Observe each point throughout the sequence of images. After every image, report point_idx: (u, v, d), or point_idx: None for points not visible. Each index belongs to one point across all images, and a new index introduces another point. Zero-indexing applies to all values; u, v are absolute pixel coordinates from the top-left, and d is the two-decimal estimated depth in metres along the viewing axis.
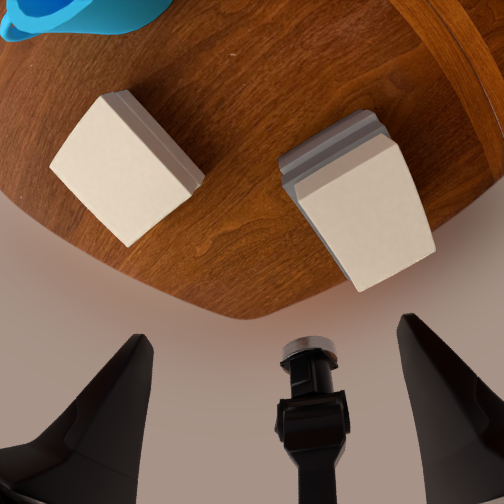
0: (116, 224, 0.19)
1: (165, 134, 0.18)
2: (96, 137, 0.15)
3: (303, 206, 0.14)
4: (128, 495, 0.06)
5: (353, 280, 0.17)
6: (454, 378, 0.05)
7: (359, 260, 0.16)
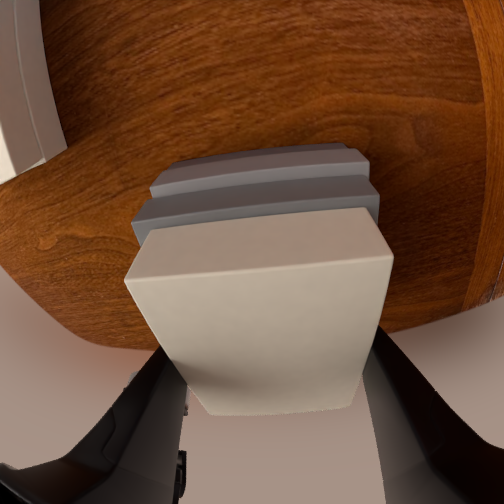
0: None
1: (41, 68, 0.08)
2: None
3: (132, 292, 0.06)
4: None
5: (203, 404, 0.10)
6: (407, 392, 0.06)
7: (218, 391, 0.09)
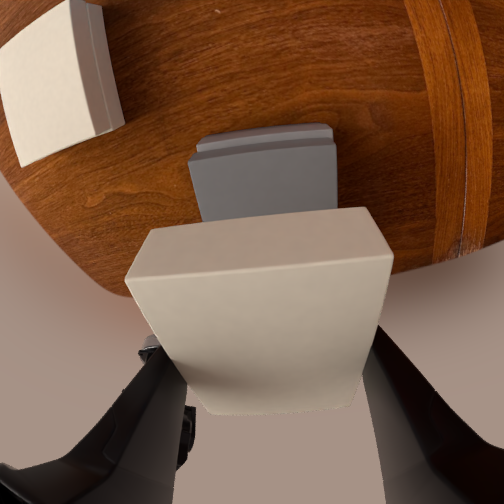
0: (20, 138, 0.12)
1: (108, 64, 0.13)
2: (43, 39, 0.09)
3: (132, 291, 0.06)
4: None
5: (203, 403, 0.10)
6: (407, 391, 0.06)
7: (219, 390, 0.09)
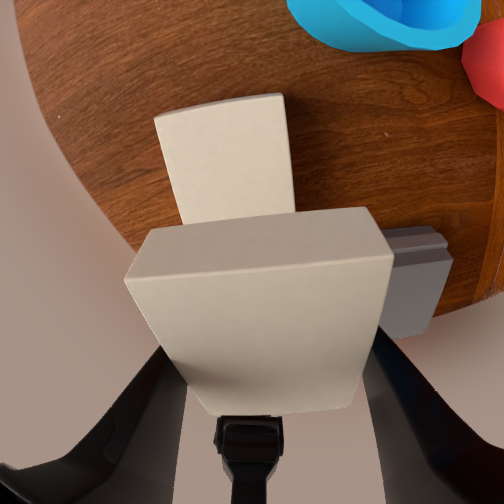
0: None
1: None
2: (245, 131, 0.14)
3: (132, 292, 0.06)
4: None
5: (203, 404, 0.10)
6: (407, 392, 0.06)
7: (218, 391, 0.09)
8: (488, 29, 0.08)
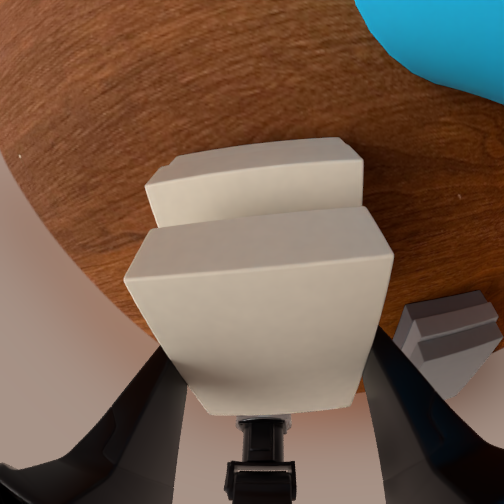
0: None
1: None
2: None
3: (131, 291, 0.06)
4: None
5: (202, 404, 0.10)
6: (407, 392, 0.06)
7: (218, 391, 0.09)
8: None
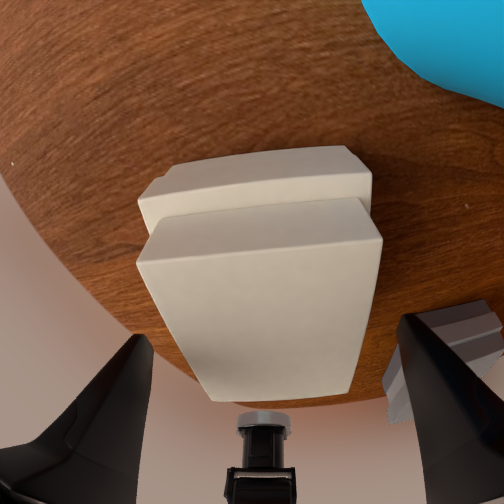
0: None
1: None
2: None
3: (143, 274, 0.07)
4: (128, 495, 0.06)
5: (206, 389, 0.11)
6: (454, 378, 0.05)
7: (221, 374, 0.10)
8: None
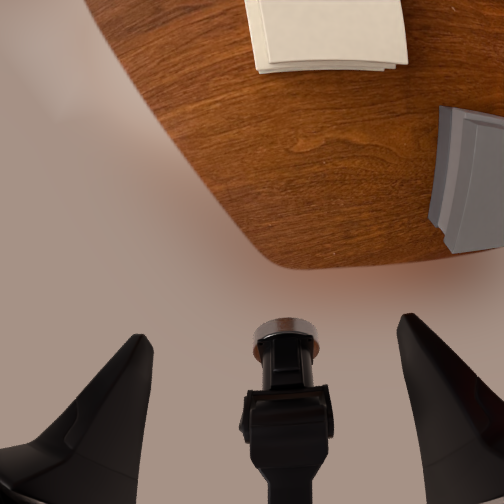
0: None
1: None
2: None
3: None
4: (128, 495, 0.06)
5: (267, 32, 0.08)
6: (454, 378, 0.05)
7: (286, 3, 0.08)
8: None
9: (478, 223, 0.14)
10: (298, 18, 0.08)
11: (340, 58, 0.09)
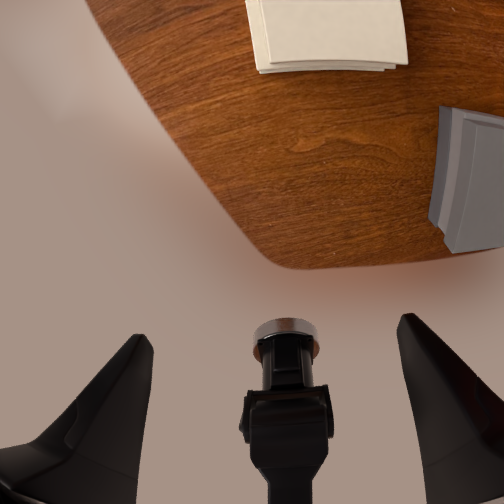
0: None
1: None
2: None
3: None
4: (128, 495, 0.06)
5: (268, 32, 0.08)
6: (454, 378, 0.05)
7: (287, 3, 0.08)
8: None
9: (478, 223, 0.14)
10: (299, 18, 0.08)
11: (340, 58, 0.09)
